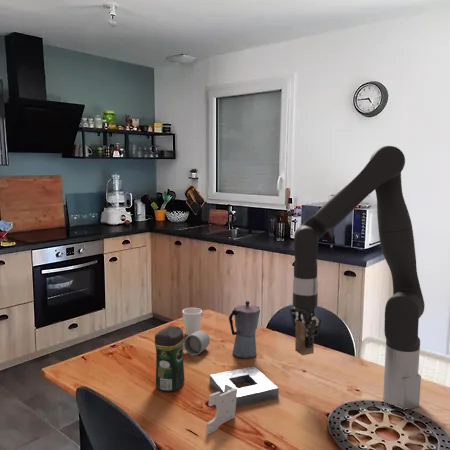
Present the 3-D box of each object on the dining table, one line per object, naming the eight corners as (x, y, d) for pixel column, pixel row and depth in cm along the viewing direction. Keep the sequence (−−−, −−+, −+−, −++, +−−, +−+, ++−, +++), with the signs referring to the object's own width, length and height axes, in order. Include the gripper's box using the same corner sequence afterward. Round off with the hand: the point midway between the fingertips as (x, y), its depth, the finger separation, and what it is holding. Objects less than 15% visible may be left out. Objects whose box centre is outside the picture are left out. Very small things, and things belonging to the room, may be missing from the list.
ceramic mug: (211, 348, 170) (211, 329, 169) (201, 357, 163) (201, 336, 162) (186, 344, 174) (186, 325, 173) (176, 352, 167) (175, 333, 166)
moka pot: (267, 351, 167) (268, 300, 165) (240, 365, 156) (240, 309, 154) (247, 345, 174) (248, 295, 171) (220, 357, 163) (220, 304, 160)
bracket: (222, 415, 126) (225, 380, 126) (234, 421, 124) (237, 385, 123) (195, 427, 118) (199, 390, 117) (208, 434, 115) (211, 396, 115)
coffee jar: (165, 376, 147) (165, 322, 145) (187, 380, 145) (187, 325, 142) (151, 390, 138) (150, 332, 136) (174, 394, 136) (173, 336, 133)
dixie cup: (194, 339, 180) (194, 315, 178) (178, 334, 184) (177, 311, 183) (206, 332, 186) (206, 309, 185) (190, 328, 191) (190, 306, 190)
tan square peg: (313, 353, 137) (314, 321, 136) (302, 355, 135) (302, 323, 134) (306, 348, 141) (306, 317, 139) (295, 350, 139) (295, 319, 138)
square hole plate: (278, 397, 134) (278, 388, 134) (229, 408, 128) (229, 398, 128) (254, 374, 149) (254, 366, 148) (209, 383, 143) (209, 374, 142)
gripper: (329, 295, 131) (328, 351, 133) (302, 284, 144) (301, 335, 146) (308, 298, 128) (307, 355, 130) (282, 286, 141) (282, 339, 143)
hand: (304, 344), depth 138 cm, fingers closed on tan square peg, 4 cm apart
